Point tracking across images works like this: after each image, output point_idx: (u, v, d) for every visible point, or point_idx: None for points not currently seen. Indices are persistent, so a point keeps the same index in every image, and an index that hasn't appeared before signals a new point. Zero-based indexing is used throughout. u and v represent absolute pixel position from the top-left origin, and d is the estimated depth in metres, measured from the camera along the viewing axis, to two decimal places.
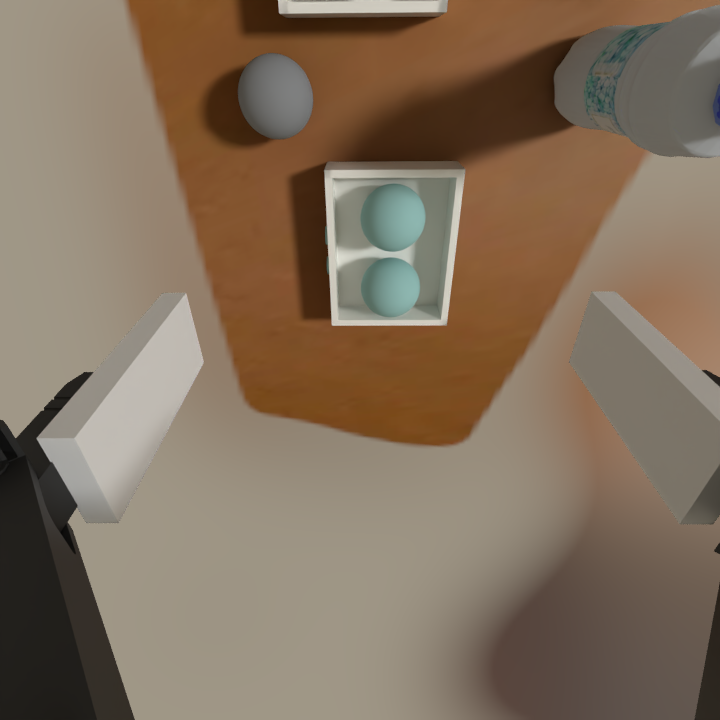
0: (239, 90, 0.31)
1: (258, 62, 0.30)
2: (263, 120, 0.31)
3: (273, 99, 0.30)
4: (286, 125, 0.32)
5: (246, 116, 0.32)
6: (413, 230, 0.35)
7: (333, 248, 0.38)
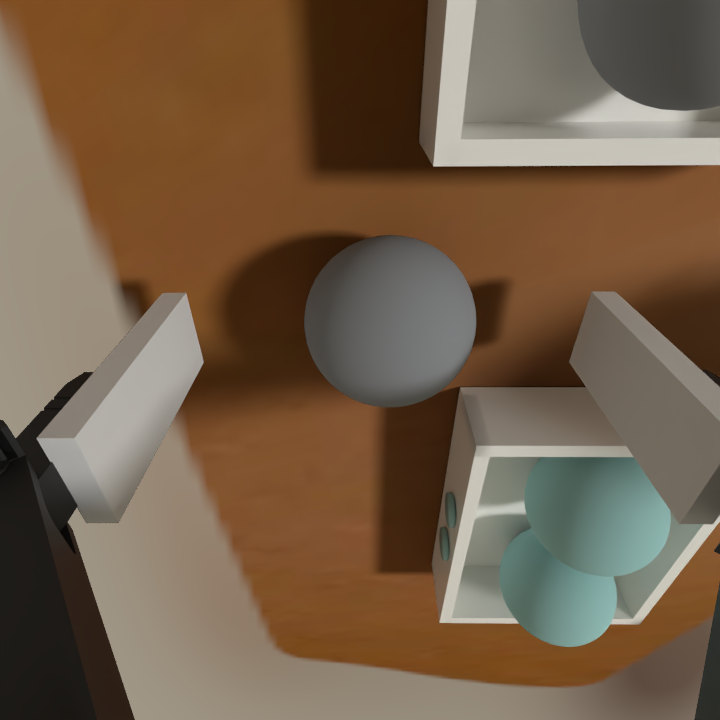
0: (312, 328, 0.13)
1: (366, 280, 0.12)
2: (369, 398, 0.13)
3: (404, 369, 0.12)
4: (420, 400, 0.13)
5: (324, 375, 0.14)
6: (654, 558, 0.17)
7: (466, 543, 0.20)
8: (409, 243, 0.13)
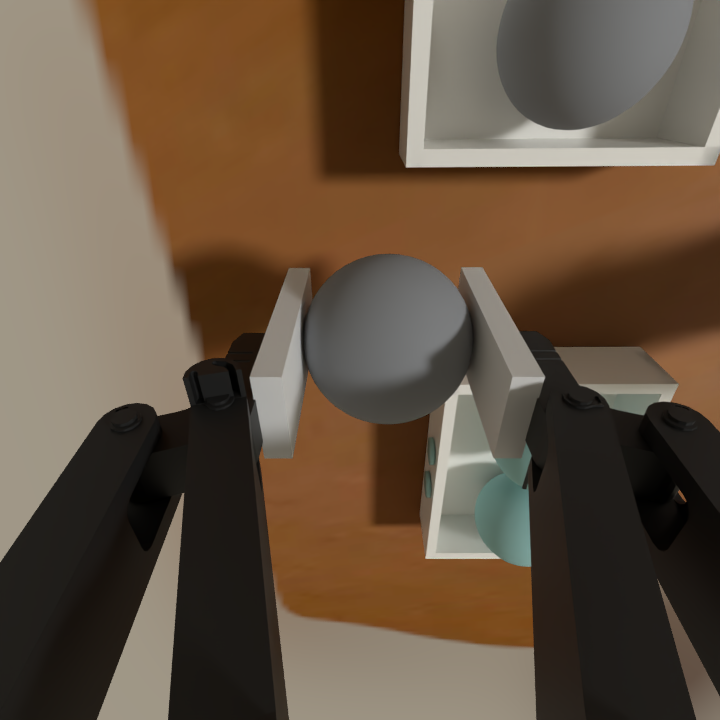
0: (310, 346, 0.13)
1: (364, 298, 0.12)
2: (368, 415, 0.13)
3: (402, 387, 0.12)
4: (418, 417, 0.14)
5: (323, 392, 0.14)
6: None
7: (444, 476, 0.25)
8: (406, 262, 0.13)
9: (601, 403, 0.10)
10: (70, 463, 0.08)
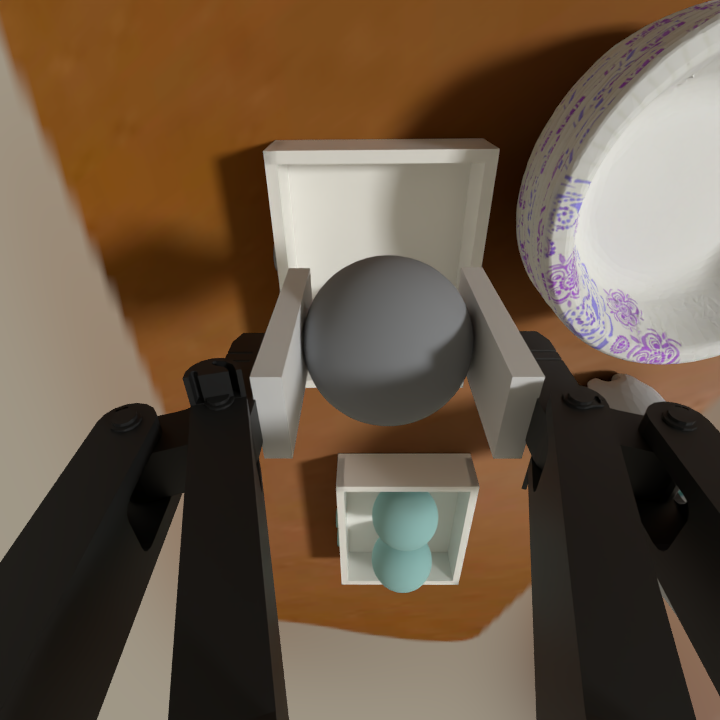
0: (310, 348, 0.13)
1: (365, 300, 0.12)
2: (368, 417, 0.13)
3: (403, 389, 0.12)
4: (418, 419, 0.14)
5: (323, 394, 0.14)
6: (426, 541, 0.35)
7: (344, 536, 0.38)
8: (406, 263, 0.13)
9: (601, 403, 0.10)
10: (70, 463, 0.08)
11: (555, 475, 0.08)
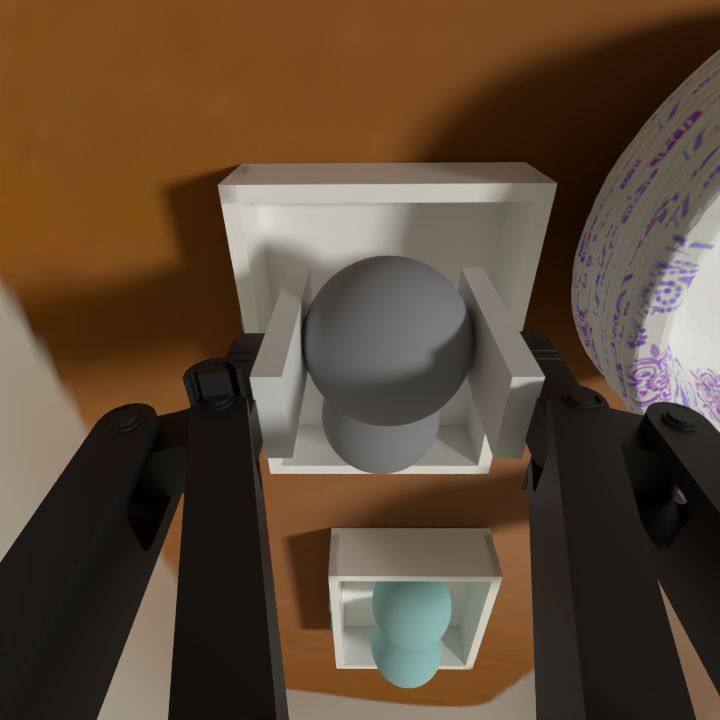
0: (310, 348, 0.13)
1: (365, 300, 0.12)
2: (368, 418, 0.13)
3: (403, 389, 0.12)
4: (418, 419, 0.14)
5: (323, 395, 0.14)
6: (438, 639, 0.29)
7: (339, 623, 0.32)
8: (406, 264, 0.13)
9: (600, 402, 0.10)
10: (70, 463, 0.08)
11: (555, 475, 0.08)
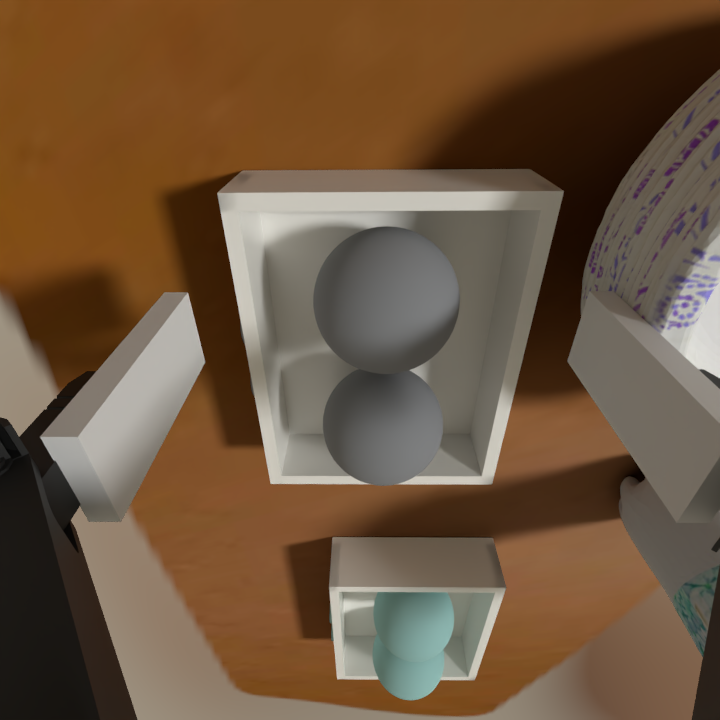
0: (320, 303, 0.15)
1: (366, 260, 0.14)
2: (369, 363, 0.15)
3: (398, 335, 0.14)
4: (412, 366, 0.16)
5: (330, 345, 0.16)
6: None
7: (339, 634, 0.31)
8: (402, 232, 0.15)
9: None
10: None
11: None
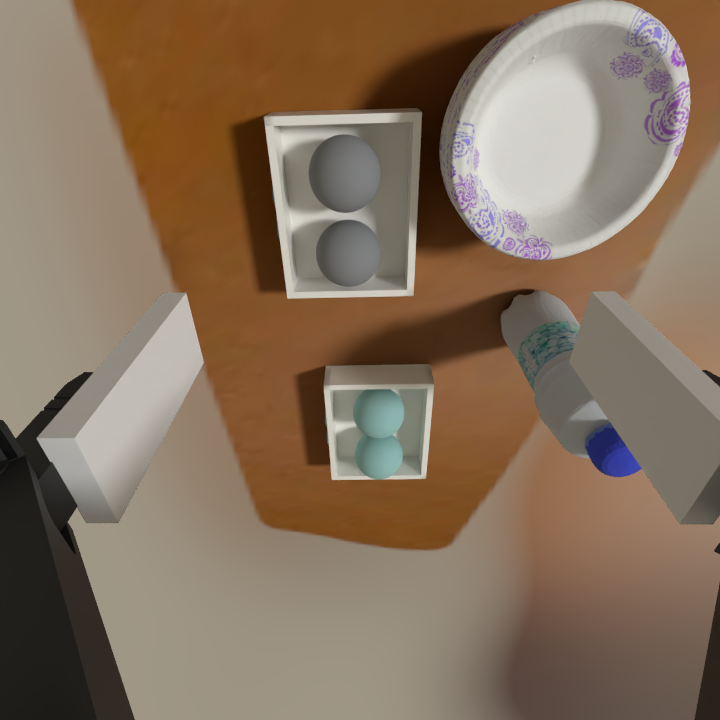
0: (311, 170, 0.32)
1: (332, 145, 0.31)
2: (335, 199, 0.32)
3: (347, 180, 0.31)
4: (356, 202, 0.32)
5: (317, 194, 0.33)
6: (394, 428, 0.45)
7: (332, 432, 0.48)
8: (349, 135, 0.32)
9: None
10: None
11: None
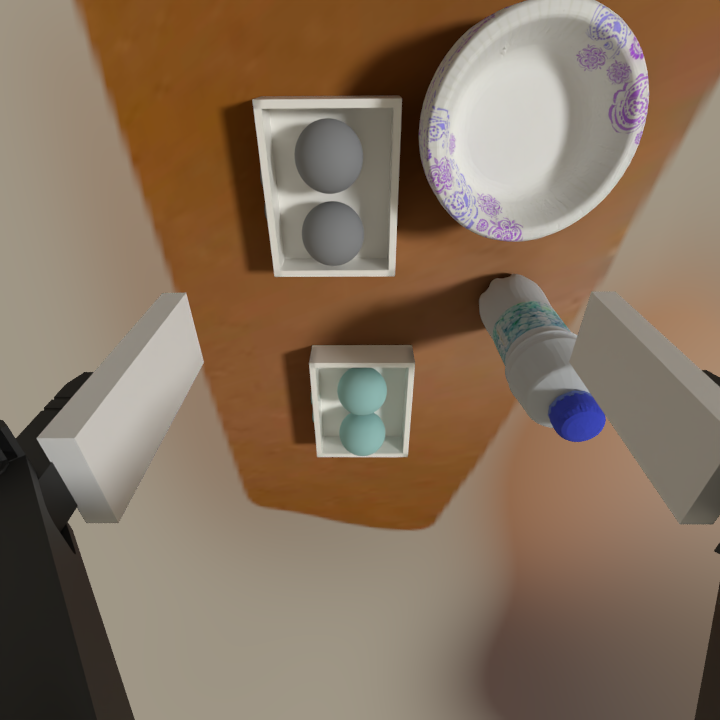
0: (297, 152, 0.34)
1: (316, 128, 0.33)
2: (318, 179, 0.34)
3: (329, 161, 0.33)
4: (339, 183, 0.34)
5: (302, 174, 0.35)
6: (376, 405, 0.47)
7: (317, 409, 0.50)
8: (333, 119, 0.34)
9: None
10: None
11: None
